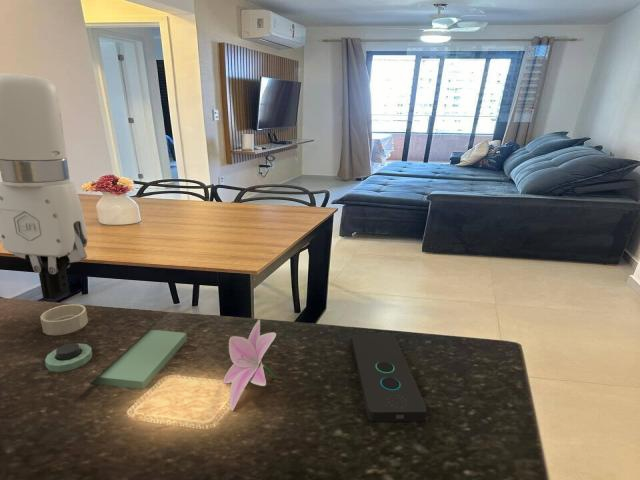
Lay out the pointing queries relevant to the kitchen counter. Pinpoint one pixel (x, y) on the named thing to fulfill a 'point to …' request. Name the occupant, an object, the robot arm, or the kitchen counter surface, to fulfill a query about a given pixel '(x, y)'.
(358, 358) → the smart home device
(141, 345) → the mint green pieces
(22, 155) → the robot arm
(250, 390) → the kitchen counter surface
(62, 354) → the dark grey puck
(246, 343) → the lily
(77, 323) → the bowl
